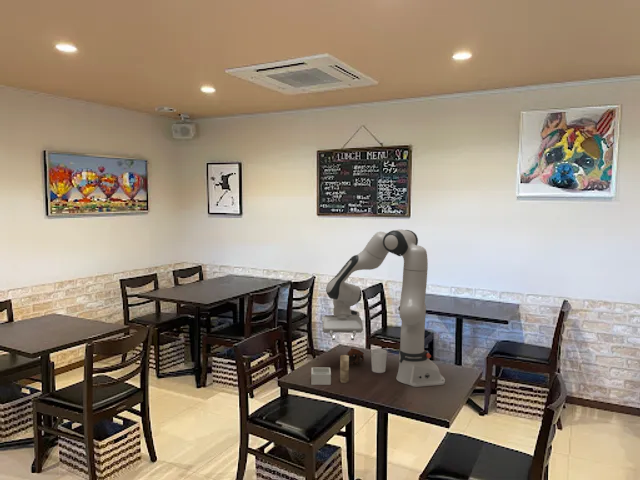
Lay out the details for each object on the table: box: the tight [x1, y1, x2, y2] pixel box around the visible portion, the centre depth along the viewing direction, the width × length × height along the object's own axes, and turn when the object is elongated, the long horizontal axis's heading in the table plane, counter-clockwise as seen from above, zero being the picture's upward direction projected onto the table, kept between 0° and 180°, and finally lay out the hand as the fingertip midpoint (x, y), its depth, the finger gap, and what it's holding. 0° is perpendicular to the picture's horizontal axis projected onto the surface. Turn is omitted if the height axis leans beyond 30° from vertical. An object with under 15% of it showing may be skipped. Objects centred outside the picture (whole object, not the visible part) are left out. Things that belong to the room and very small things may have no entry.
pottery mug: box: [346, 348, 365, 366], centre depth 249 cm, size 12×10×8 cm
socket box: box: [310, 367, 332, 386], centre depth 223 cm, size 9×9×5 cm
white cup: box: [370, 348, 388, 374], centre depth 237 cm, size 8×8×10 cm
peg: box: [339, 354, 350, 384], centre depth 223 cm, size 4×4×12 cm
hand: (343, 339), depth 234 cm, fingers open, 8 cm apart
